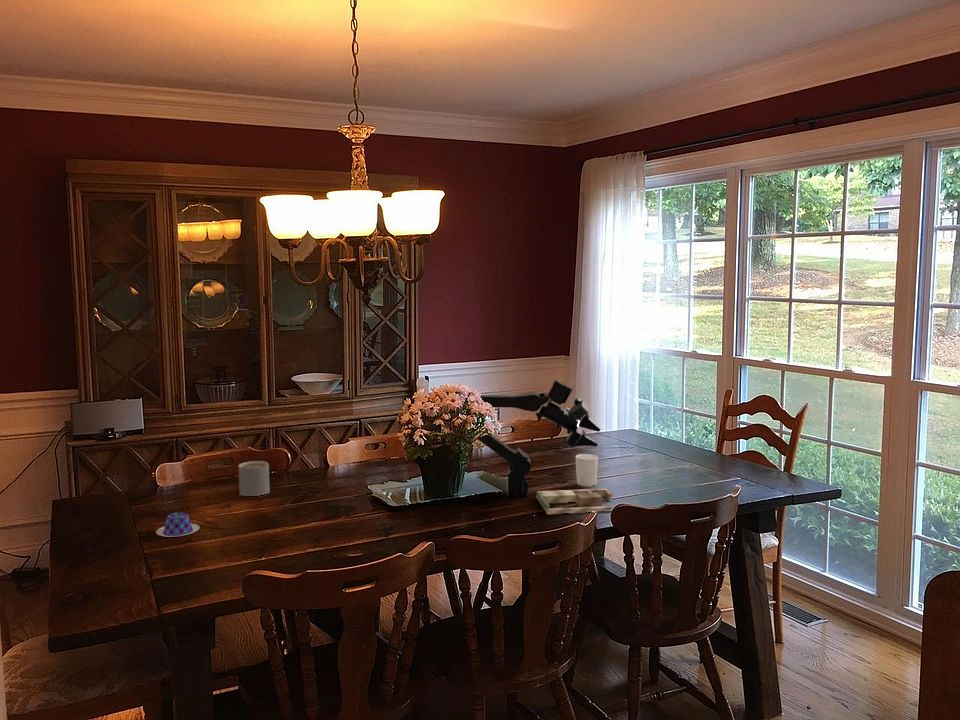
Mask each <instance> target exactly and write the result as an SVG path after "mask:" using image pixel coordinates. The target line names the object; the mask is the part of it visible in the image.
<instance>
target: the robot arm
mask: <svg viewBox="0 0 960 720" xmlns="http://www.w3.org/2000/svg"><path fill="white" fill-rule="evenodd" d="M551 385H552V386H551V387H550V389H549V391H547V392H542V393H537V392H535V391H529V392H523V393H519V394H515V395H513V394H511V395H510V394H509V395H505V394H503V395H502V394H501V395H500V394H498V395H497V394H480V395H481V396H480V397H481V398H482V400H483V401H484V402H488V403H490V404H491V405H492V407H491V408H512V409H513V408H514V409H515V408H516V409H518V410H522V411H526V412H535V416H536V418H537V421H538V422H541V420H542V418H544V419H546V420H548V421H549V422H551V423H554V424H555V427H556V428H557V429H559V428H560V427H561V428H562V429H564V430H566V434H568V435H567V437H566V446H568V447H569V448H571V449H573V448H576V447H580V446H581V447H583V446H585V447H598V445H599V443H598V442H597V441H596V440H594V439H593V438H592V437H590V436H588V435H587V434H586V431H585V429H587V430H591V431H595V432H601V428H600V427H599V426H598V425H597V423H595V422H594V421H593V420H592V419H591V417H590V415H589V411H588V410H589V409H590V408H589V406H588V405H587V404H586V400H584V399H582V398H579V397H576V398H575V399H574V404H573V405H572V406H571V407H565V408H564V407H561V405H563V404H564V405H565V404H566V402H567V401H568V399H569V398H570V396H571V394H572V392H573V390H574V388H573V387H571V386H570V385H568V384H566V383H565V382H561V381H559V380H556V379H555V380H553V382H552V384H551ZM582 428H583V429H582ZM476 440H478V441H479V442H480V443H482V444H483V445H485V447H488V448H489V449H490V450H491V451H493V452H495V453H496V454H497V455H498V456H500V457H501V458H502V459H503V460H505V462H506V463H507V464H508V466H509V467H508V468H507V475H506V491H507V492H506V491H505V495H506V496H507V497H508V498H525V497H526V498H528V494H529V481H528V480H527V477H526V475H528V474H529V473H530V472H531V470H532V465H531V464H532V463H531V459H530V457H529V455H528V454H529V453H528V452H524V451H523V450H522V449H521V448H520V447H517V449H513V448H511V447H510V446H508V445H506V444H505V443H504V442H503V441H501V440H500V439H499V438H498V437H496V436H495V435H494V434H492V435H485V436H483V437H480V438H476Z"/></svg>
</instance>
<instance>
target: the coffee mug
mask: <svg viewBox="0 0 960 720" xmlns="http://www.w3.org/2000/svg"><path fill="white" fill-rule="evenodd" d="M238 488H239V496H241V495H243V496H259V497H261V496H260V495H264V494H267V493H268V494H270V491H271V490H270V465H269V462H267V461H264V460H251V461H246V462H242V463H239V464H238ZM268 494H267V495H268ZM243 496H242V497H243ZM264 496H265V495H264Z"/></svg>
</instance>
